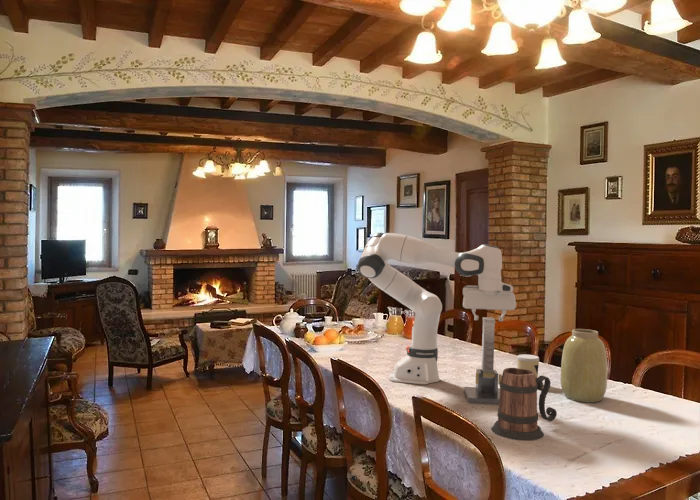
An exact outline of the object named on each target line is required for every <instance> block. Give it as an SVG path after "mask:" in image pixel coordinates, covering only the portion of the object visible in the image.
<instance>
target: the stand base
mask: <svg viewBox="0 0 700 500" xmlns="http://www.w3.org/2000/svg"><path fill="white" fill-rule="evenodd" d="M475 370H476V372H475V386H463V387H464V388H463V392H464V396H465V398H466V400H467V404H477V405H478V404H481V405H498V406H499V399H500V387H499V386H500V381H501V378H502V374H503V373H498V372H497V370H496V369H493V374H489V373H483V377H493V378H483V377H482V376H481V375H482V373H481V371H482V368H476V369H475Z"/></svg>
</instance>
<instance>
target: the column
mask: <svg viewBox="0 0 700 500" xmlns="http://www.w3.org/2000/svg"><path fill="white" fill-rule="evenodd" d="M495 323H496V319H495V318H494V317H489V316H486V317H485V316H483V317H482V334H481V335H482V339H481V343H482V344H481V345H482V346H481V369H482V371H481V373H482V375H481V376H482V377H483V373H489V374H493V370H494V365H495V362H494V361H495V360H494V359H495V358H494V357H495V326H496V325H495ZM483 378H493V377H483Z"/></svg>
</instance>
